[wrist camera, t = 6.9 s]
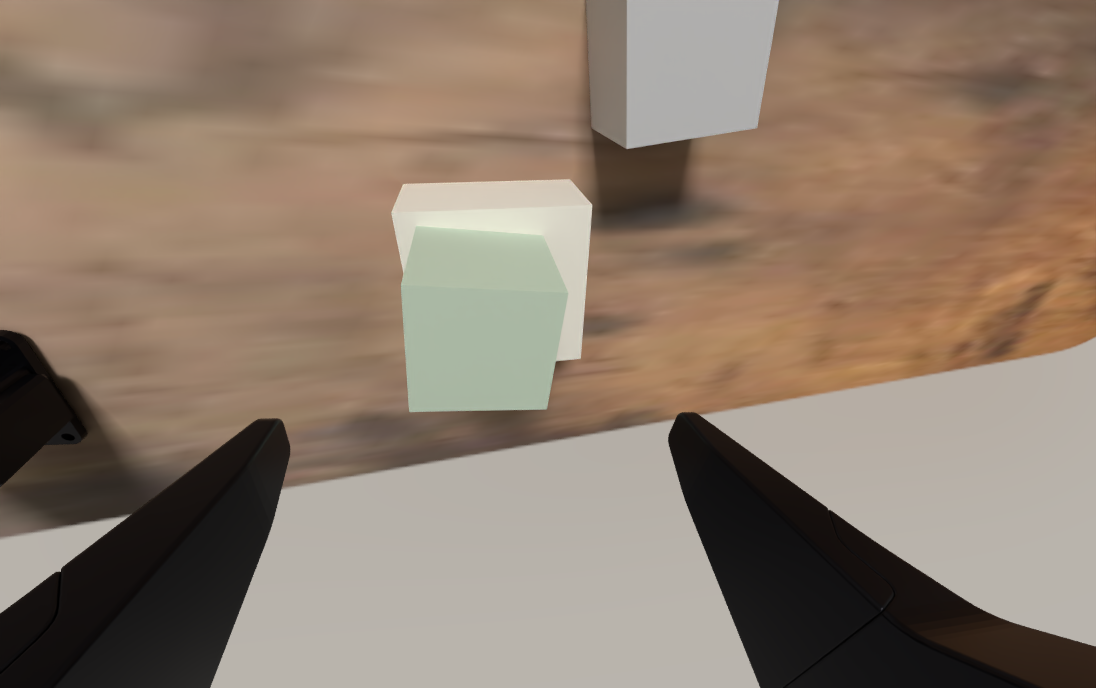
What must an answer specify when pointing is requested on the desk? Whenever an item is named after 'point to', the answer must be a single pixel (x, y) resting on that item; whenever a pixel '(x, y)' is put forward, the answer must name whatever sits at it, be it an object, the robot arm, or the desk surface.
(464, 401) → the sage cube
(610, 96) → the grey cube
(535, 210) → the cream block
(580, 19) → the desk surface
